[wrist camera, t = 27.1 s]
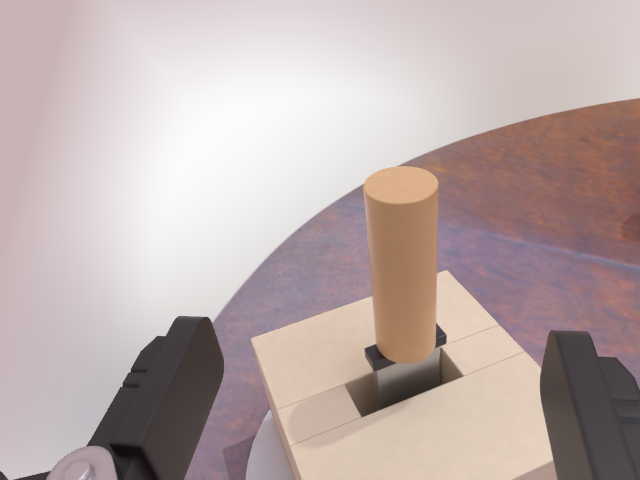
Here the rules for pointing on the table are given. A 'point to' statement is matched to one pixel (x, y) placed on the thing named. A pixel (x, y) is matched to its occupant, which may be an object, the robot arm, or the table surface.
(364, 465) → the wooden slotted box
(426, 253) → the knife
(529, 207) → the table surface
